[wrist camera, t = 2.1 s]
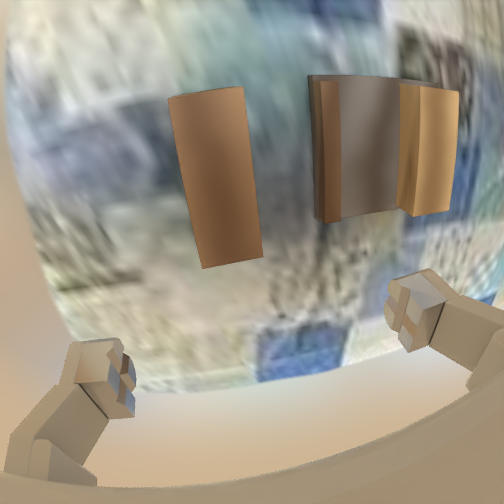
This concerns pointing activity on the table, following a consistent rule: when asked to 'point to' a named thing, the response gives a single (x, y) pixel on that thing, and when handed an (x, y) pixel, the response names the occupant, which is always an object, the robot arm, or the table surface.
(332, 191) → the floor section
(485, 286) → the table surface
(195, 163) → the walnut plank
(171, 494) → the robot arm
